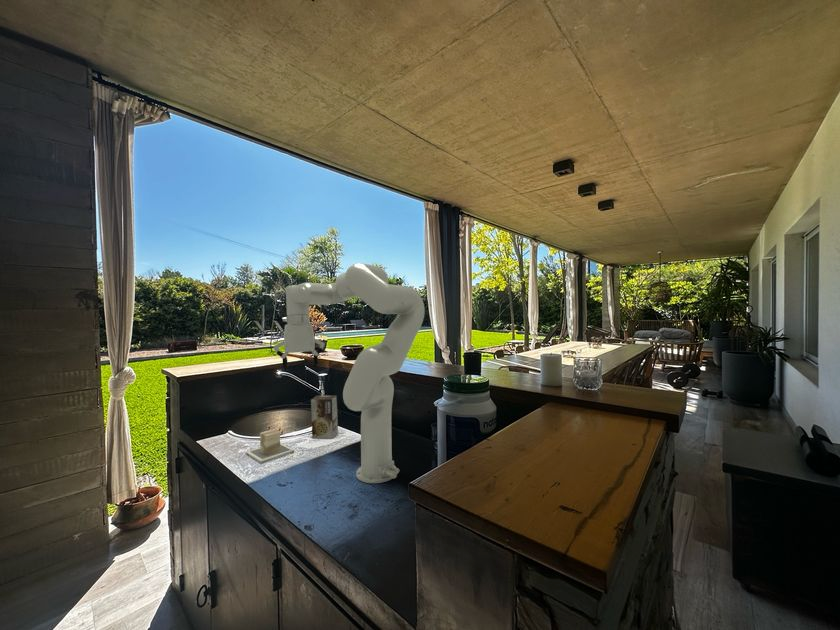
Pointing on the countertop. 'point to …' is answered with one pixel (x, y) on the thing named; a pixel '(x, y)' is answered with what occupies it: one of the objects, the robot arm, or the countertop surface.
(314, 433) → the coffee box
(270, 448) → the block
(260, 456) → the mat
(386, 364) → the robot arm
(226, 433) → the countertop surface
